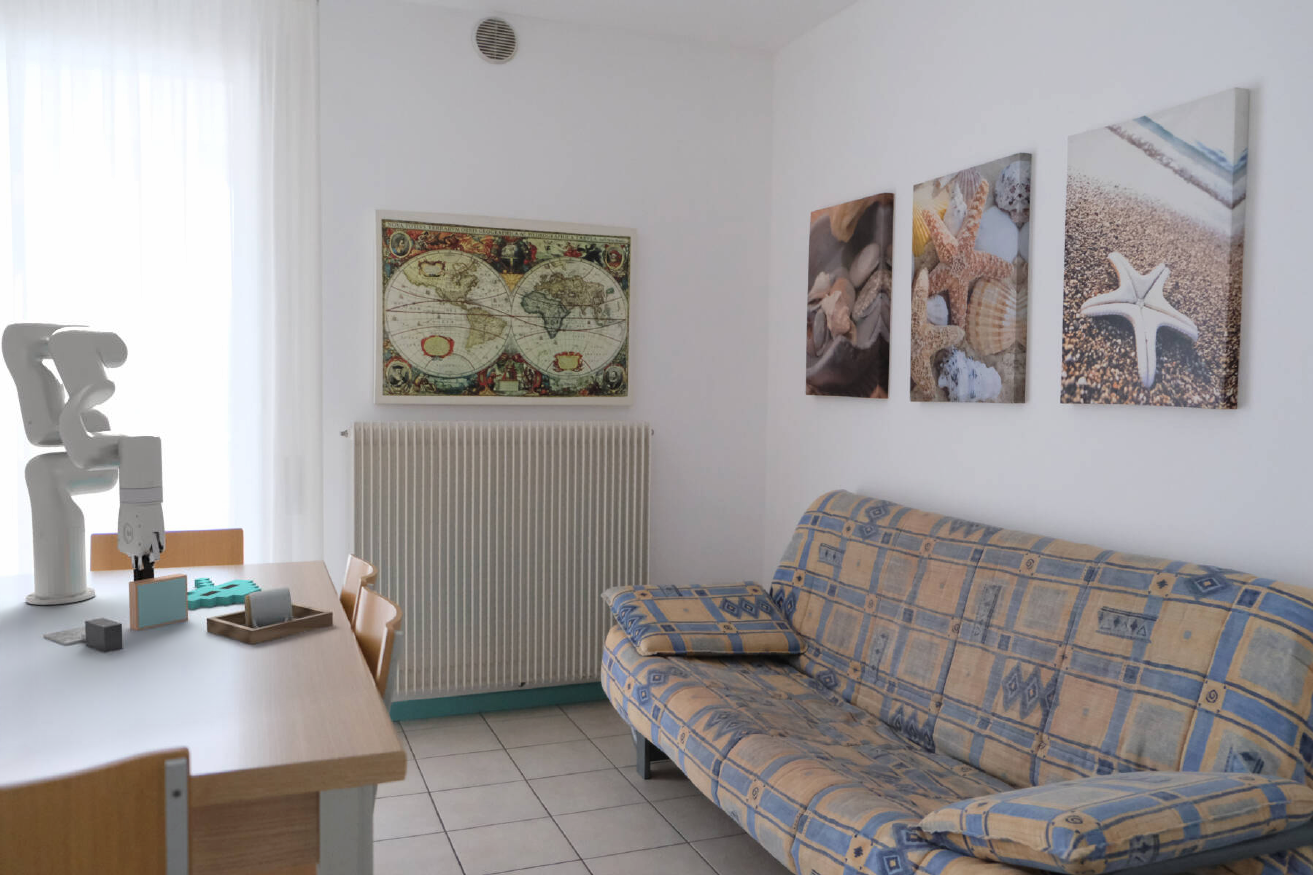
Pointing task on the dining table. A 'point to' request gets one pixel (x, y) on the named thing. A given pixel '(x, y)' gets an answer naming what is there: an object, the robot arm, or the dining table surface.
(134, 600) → the block
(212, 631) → the wooden tray
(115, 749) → the dining table surface
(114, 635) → the dark grey pieces
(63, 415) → the robot arm
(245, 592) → the alien figure
